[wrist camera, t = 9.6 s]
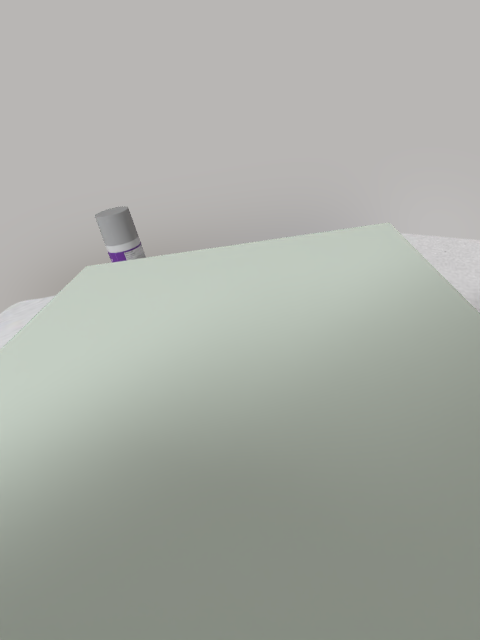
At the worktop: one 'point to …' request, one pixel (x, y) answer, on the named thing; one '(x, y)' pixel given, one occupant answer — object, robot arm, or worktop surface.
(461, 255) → the worktop surface
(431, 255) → the worktop surface
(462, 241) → the worktop surface
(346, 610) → the pale mint green cube
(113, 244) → the container
